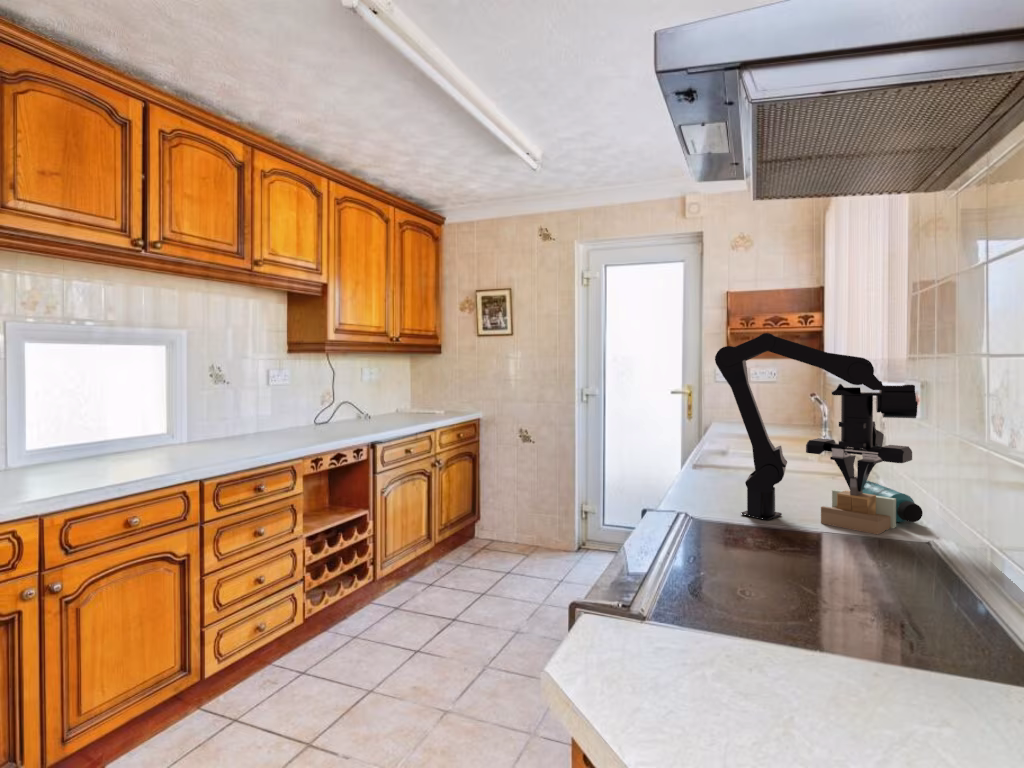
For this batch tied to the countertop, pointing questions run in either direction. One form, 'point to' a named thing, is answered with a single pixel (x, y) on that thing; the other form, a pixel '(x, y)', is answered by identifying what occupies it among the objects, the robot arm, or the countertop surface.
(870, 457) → the robot arm
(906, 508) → the beverage bottle
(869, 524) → the wooden stand with panel
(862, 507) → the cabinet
